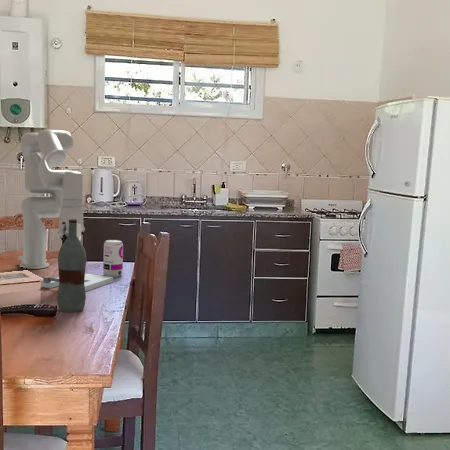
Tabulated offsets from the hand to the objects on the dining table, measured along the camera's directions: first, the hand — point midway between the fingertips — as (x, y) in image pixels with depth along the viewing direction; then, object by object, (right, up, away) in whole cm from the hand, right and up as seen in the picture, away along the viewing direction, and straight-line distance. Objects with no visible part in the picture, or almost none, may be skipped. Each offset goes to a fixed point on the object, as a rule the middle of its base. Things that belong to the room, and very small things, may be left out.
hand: (71, 249), depth 214 cm
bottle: (+8, -19, -29) cm, 35 cm away
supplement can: (+11, -12, +26) cm, 31 cm away
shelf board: (+1, -14, +6) cm, 16 cm away
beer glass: (0, -5, +1) cm, 5 cm away
